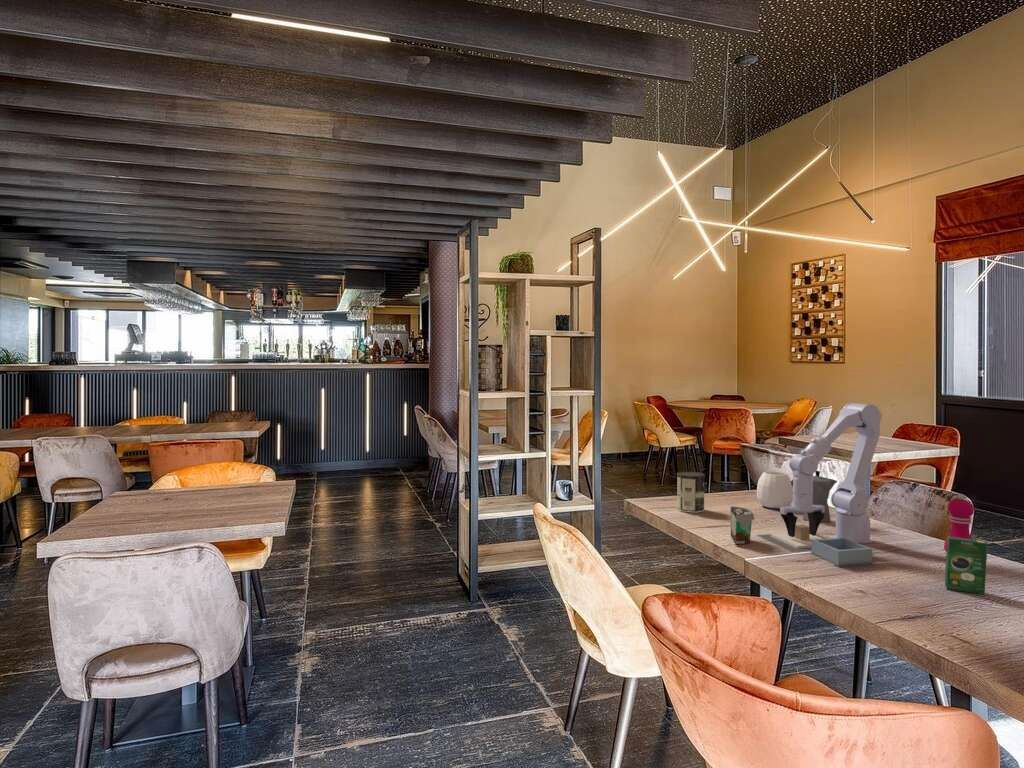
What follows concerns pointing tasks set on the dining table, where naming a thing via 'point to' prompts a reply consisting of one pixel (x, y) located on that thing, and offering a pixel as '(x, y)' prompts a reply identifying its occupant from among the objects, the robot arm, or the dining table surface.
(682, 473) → the coffee can
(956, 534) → the pepper mill
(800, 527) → the lid
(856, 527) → the robot arm
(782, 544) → the mat
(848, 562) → the dish
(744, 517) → the food container
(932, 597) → the dining table surface
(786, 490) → the white vase
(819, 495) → the coffeepot
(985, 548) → the coffee box
